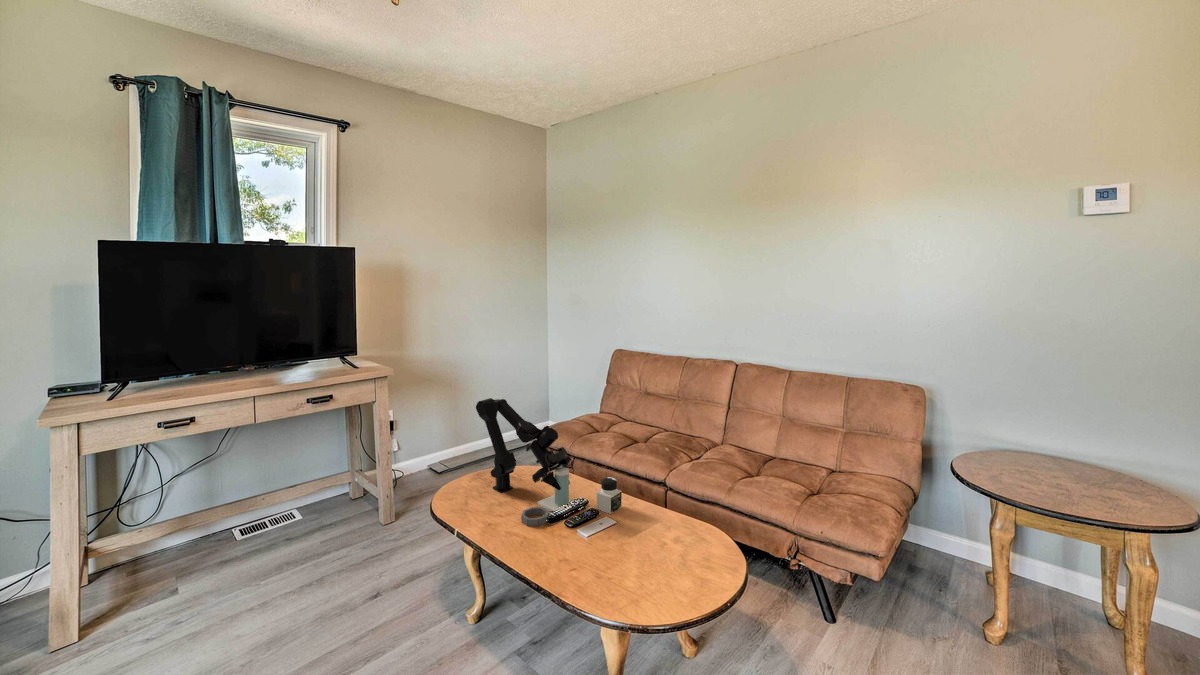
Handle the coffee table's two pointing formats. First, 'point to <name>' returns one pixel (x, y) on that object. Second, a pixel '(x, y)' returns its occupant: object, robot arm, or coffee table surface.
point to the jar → (562, 486)
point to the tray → (551, 504)
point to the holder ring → (534, 521)
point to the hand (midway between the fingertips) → (564, 486)
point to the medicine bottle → (609, 496)
